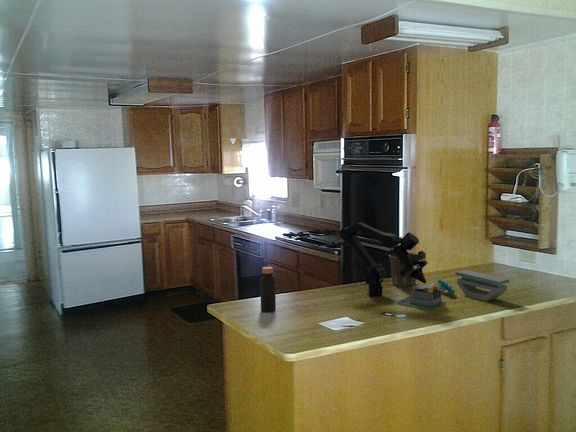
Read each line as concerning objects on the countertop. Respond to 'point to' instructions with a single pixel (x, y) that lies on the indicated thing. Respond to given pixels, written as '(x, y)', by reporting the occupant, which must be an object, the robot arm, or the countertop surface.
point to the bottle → (267, 290)
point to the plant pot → (396, 269)
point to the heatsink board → (423, 298)
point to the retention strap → (425, 286)
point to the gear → (444, 287)
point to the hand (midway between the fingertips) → (425, 282)
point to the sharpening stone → (481, 285)
